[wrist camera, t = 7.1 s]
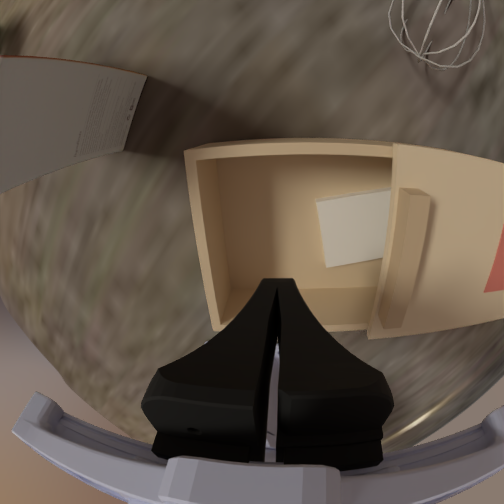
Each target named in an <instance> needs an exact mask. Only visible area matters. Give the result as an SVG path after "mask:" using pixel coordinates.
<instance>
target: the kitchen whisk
mask: <svg viewBox="0 0 504 504" xmlns="http://www.w3.org/2000/svg"><path fill="white" fill-rule="evenodd" d="M450 2H451V0H449V2H448V5H447V7H446V10H445V13H446V11H447V9H448V6H449V4H450ZM482 2H483V13H484V22H483V32H482V37H481V40H480V43H479V46H478V49H477V50H476V51H475V53H474V54H473V55H472V57H471V58H470V59H469V60H468V61H466V62H464V63H462V64H460V65H458V66H453V64H454V63H455V61H456V60H457V58H458V57H459V55H460V53H461V51H462V48H463V46H464V43H465V40H466V37H467V36H468V34H469V33H470V31H471V30H472V28H473V26H474V25H475V23H476V20H477V17H478V14H479V11H480V3H481V0H479V4H478V10H477V13H476V17H475V20H474V22H473V24H472V25H471V27H470V29H469V30H468V28H469V23H470V16H471V4H472V0H470V11H469V19H468V25H467V30H466V34H465V36H463V37H462V38H461V39H460V40H459V41H458V42H457V43H455V44H454V45H452V46H450V47H448V48H445V49H443V50H441V51H438V52H428V53H427V51H428V49H429V47H430V45H431V43H432V41H433V40H432V41H431V42H430V43H429V45H428V47H427V49H426V51H425V53H422V51H423V48H424V45H425V42H426V39H427V37H428V34H429V32H430V29H431V26H432V24H433V22H434V19H435V17H436V14H437V12H438V9H439V7H440V5H441V3H442V0H440V1H439V4H438V6H437V8H436V11H435V13H434V15H433V18H432V20H431V22H430V25H429V28H428V30H427V33H426V35H425V38H424V41H423V44H422V47H421V50H420V53H418V51H417V49H416V47H415V46H414V44H413V43H412V41H411V39H410V38H409V35H408V31H407V28H406V22H407V20H408V19H407V20H406V21H404V0H402V21H403V24H404V25H403V28H402V30H401V36H400V40H399V38H398V37H397V35H396V34H395V32H394V31H393V29H392V25H391V16H390V13H391V10H392V7H393V3H394V0H392V3H391V6H390V10H389V13H388V16H389V24H390V29H391V31H392V32H393V34H394V35H395V37H396V38H397V40H398V41H399V43H400V44H401V45H402V46H403V48H404V49H405V50H406V51H407V52H411V53H413V54H415V55H416V56H417V57H418V63H419V62H421V61H422V60H423V61H424V62H425V63H426V64H427V65H428V66H430V67H431V68H432V69H435V70H440V71H444V70H446V69H448V68H459V67H461V66H463V65H464V64H466V63H468V62H470V61H471V60H472V59H473V58H474V56H475V55H476V53H477V52H478V51H479V49H480V46H481V43H482V40H483V36H484V29H485V5H484V0H482ZM445 13H444V14H445ZM404 28H405V31H406V35H407V38H408V39H409V41H410V43H411V44H412V46H413V48H414V49H415V51H416V52H414V51H412V50H411V49H410V48H408V47H407V46H406V45H404V44H403V43H402V33H403V30H404ZM463 39H464V41H463V44H462V46H461V49H460V51H459V53H458V55H457V56H456V58H455V59H454V61H453V62H452V64H450V65H449V66H447V65H439V64H437V63H434V62H432V61H430V60H428V59H425V58H424V56H425V55H427V54H439V53H442V52H444V51H446V50H449V49H451V48H453V47H456V46H457V45H458V44H459V43H460V42H461V41H462V40H463ZM406 48H407V49H408V50H407V49H406ZM417 54H418V55H417ZM421 55H423V56H422V57H421ZM420 58H421V59H420ZM427 61H428V62H430V63H432V64H435V65H437V66H439V67H445V68H444V69H439V68H434V67H432V66H431V65H430V64H429V63H428V62H427Z"/></svg>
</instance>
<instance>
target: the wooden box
mask: <svg viewBox="0 0 504 504" xmlns="http://www.w3.org/2000/svg"><path fill="white" fill-rule="evenodd" d="M393 143H397V142H387V141H375V140H361V139H342V138H271V139H251V140H237V141H225V142H215V143H207V144H204V145H200V146H197V147H194V148H190V149H187V150H184V159H185V167H186V175H187V182H188V190H189V197H190V204H191V211H192V218H193V224H194V230H195V237H196V243H197V249H198V254H199V260H200V266H201V271H202V277H203V282H204V287H205V293H206V298H207V303H208V308H209V313H210V318H211V322H212V327H213V331H222V330H223V329H224V328H225V327H226V326H227V325H228V324H229V323H230V322H231V321H232V320H233V319H234V318H235V317H236V315H237V314H238V313H239V312H240V311H241V310H242V308H243V307H244V306H245V305H246V303H247V302H248V301H249V299H250V298H251V296H252V295H253V294H254V292H255V290H256V289H257V287H258V285H259V284H260V282H261V280H262V279H263V278H293V279H294V280H295V282H296V285H297V288H298V290H299V292H300V294H301V296H302V297H303V299H304V301H305V302H306V304H307V306H308V307H309V309H310V310H311V312H312V313H313V315H314V316H315V317H316V319H317V320H318V321H319V322H320V324H321V325H322V326H323V327H324V328H325V329H326V331H327V332H331V331H351V330H366V329H368V326H369V323H370V319H371V314H372V310H373V306H374V301H375V297H376V292H377V287H378V282H379V277H380V272H381V266H382V260H383V258H378V259H373V260H367V261H362V262H357V263H351V264H346V265H340V266H334V267H329V268H326V264H325V258H324V251H323V244H322V237H321V230H320V224H319V218H318V211H317V206H316V200H315V199H318V198H323V197H329V196H335V195H341V194H347V193H354V192H360V191H366V190H373V189H380V188H387V187H391V182H392V162H393ZM398 144H405V143H398ZM407 145H413V144H407ZM415 146H421V145H415ZM422 147H428V146H422ZM429 148H434V147H429ZM435 149H440V148H435ZM441 150H446V149H441ZM447 151H450V150H447ZM453 152H454V151H453Z"/></svg>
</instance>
